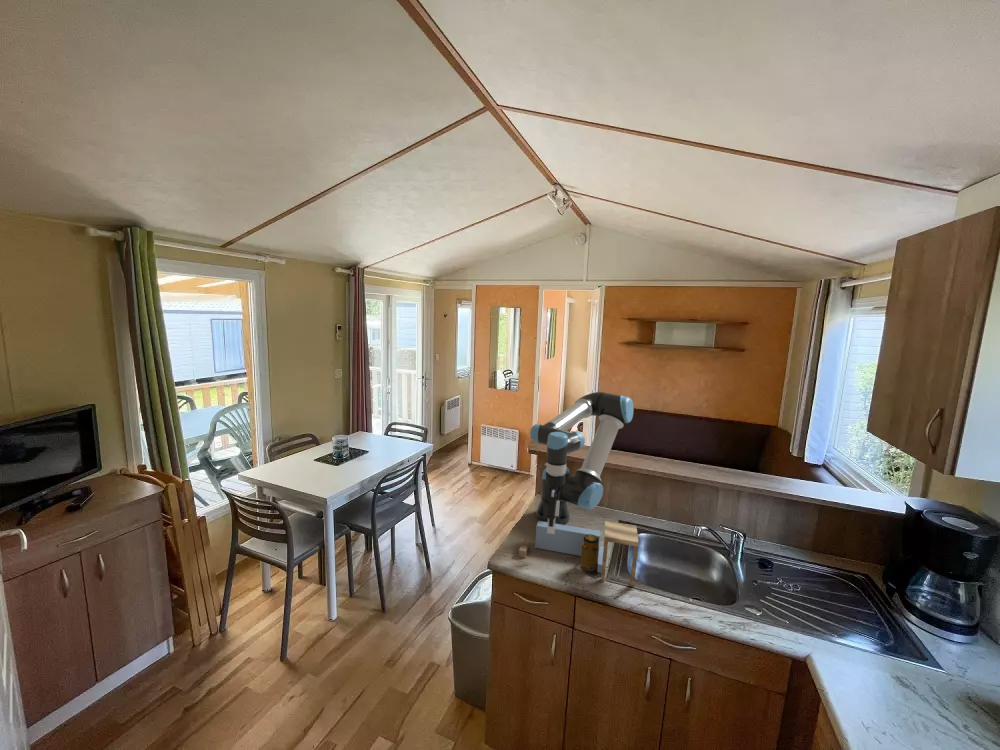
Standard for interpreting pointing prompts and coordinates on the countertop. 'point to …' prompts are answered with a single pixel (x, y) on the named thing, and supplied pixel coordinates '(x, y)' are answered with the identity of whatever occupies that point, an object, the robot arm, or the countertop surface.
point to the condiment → (590, 555)
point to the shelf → (622, 536)
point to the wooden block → (524, 548)
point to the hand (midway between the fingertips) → (553, 524)
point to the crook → (565, 540)
